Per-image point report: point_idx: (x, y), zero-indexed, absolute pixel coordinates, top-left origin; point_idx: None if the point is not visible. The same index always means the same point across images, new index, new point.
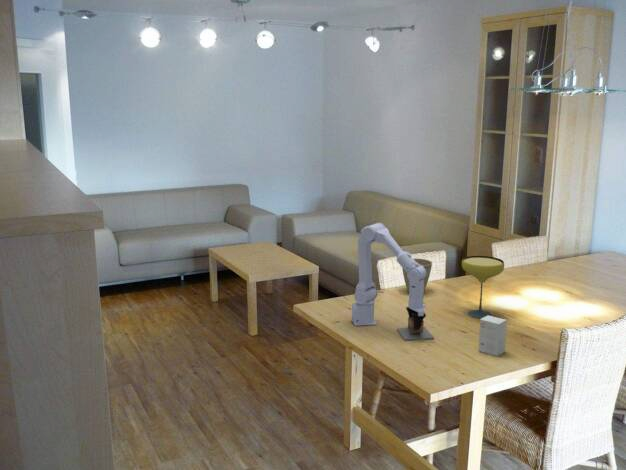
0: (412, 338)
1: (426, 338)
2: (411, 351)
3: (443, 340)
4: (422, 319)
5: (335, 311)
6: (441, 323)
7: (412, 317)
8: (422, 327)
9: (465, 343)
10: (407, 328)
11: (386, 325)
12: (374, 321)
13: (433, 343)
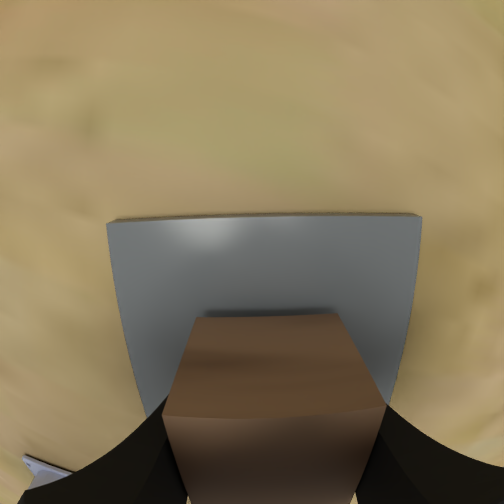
0: (387, 400)
1: (411, 289)
2: (500, 398)
3: (445, 133)
4: (454, 458)
5: (12, 492)
6: (33, 44)
7: (199, 490)
8: (352, 356)
9: (487, 14)
10: (154, 390)
11: (87, 448)
12: (65, 475)
13: (479, 247)
